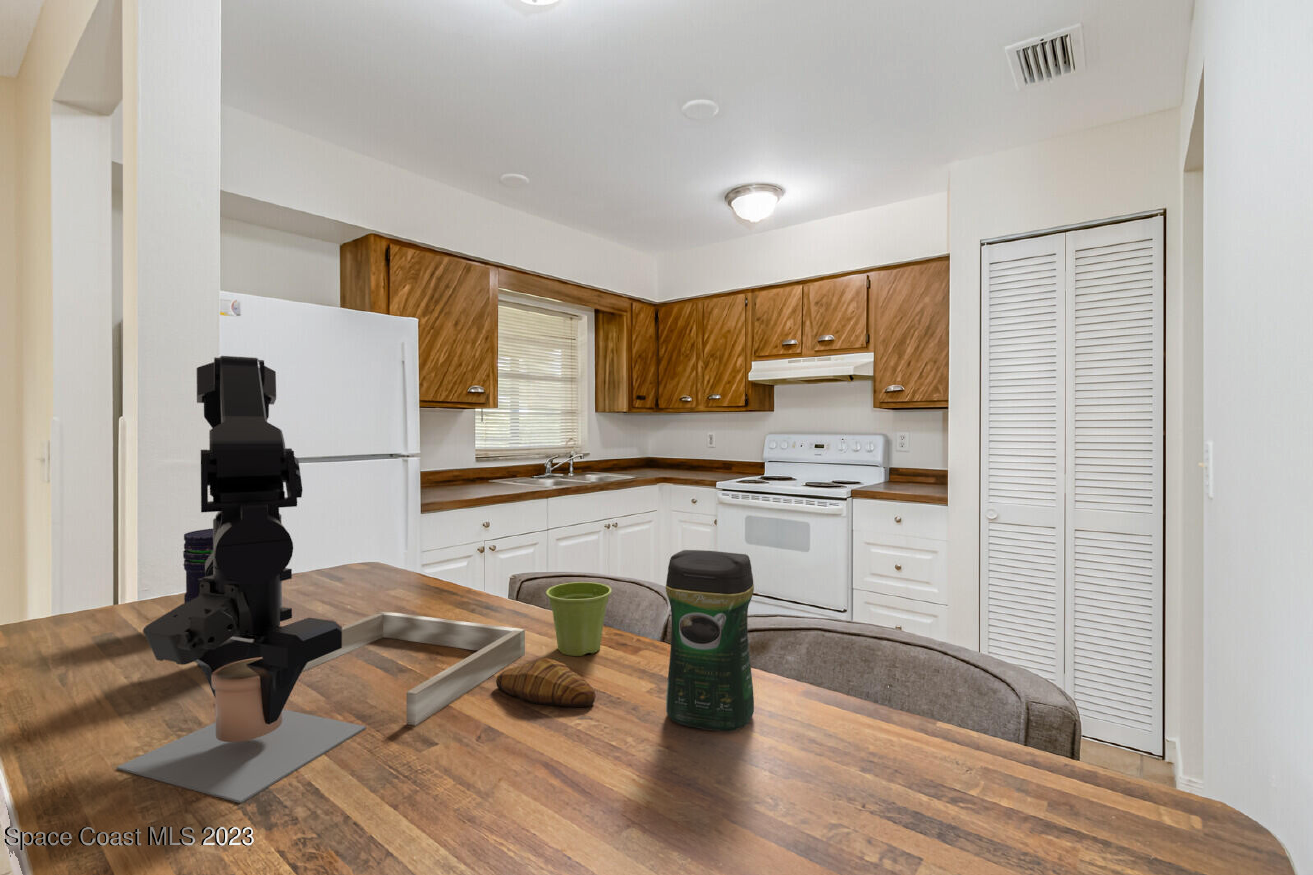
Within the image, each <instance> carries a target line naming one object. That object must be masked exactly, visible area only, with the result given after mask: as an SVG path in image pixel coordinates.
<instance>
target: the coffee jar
mask: <svg viewBox="0 0 1313 875" xmlns="http://www.w3.org/2000/svg"><path fill="white" fill-rule="evenodd" d="M668 562H669V563H668V567H667V568H668V569H667V575H666V581H665V592H666V596H667V599H668V602H669V606H670V616H671V618H670V619H671V635H670V637H671V638H670V651H669V664H668V673H667V674H668V675H667V683H666V698H665V700H666V701H665V711H666V714H667V717H668V718H669V719H671V721H673V722H674V723H677V724H680V725H684V726H687V727H692V728H698V729H703V730H711V731H717V732H727V733H729V732H734V731H737V730H739V729H742V728H744V727H745V726H747V725H748V724H749V723H750V721H751V720H752V717H753V714H754V711H755V698H754V685H753V684H754V683H753V676H752V675H753V674H752V667H751V666H752V665H751V658H750V647H749V645H750V644H749V635H748V634H749V632H748V631H749V630H748V616H749V615H748V614H749V611H748V610H749V606H750V603H751V600H752V598H753V596H754V591H755V584H754V577H753V572H752V568H753V567H752V564H751V563H752V562H751V559H750V557H749V555H748V554H745V553H737V552H726V551H725V552H724V551H715V550H702V549H700V550H699V549H683V550H680V551H678V552H676V553H674V554H673V555H671V556H670V558H669V561H668Z"/></svg>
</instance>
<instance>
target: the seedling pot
mask: <svg viewBox="0 0 1313 875" xmlns="http://www.w3.org/2000/svg"><path fill="white" fill-rule="evenodd" d="M260 659H262V657H260V658H252V659H246V660H241V661H237V662H234V663H230V664H228V665H225V666H223V667H220V668H219V669H217V670H215V671H214V672H213V673H212V675H211V686H212V688H213V689H214V690H215V697H214V699H215V705H214V706H215V708H214V709H215V710H214V711H215V713H214V714H215V722H216V738H217V739H218V740H220V741H224V742H240V741H246V740H251V739H255V738H258V737H261V736H264V735H266V734H268V733H271V732H272V731H274V730H276V729H277V728H278V727H279V726H280V725H281V724H282V712H281V714H280V716H279V718H278V720H277V721H275V722H273V723H271V724H266V723H265V720H264V715H263V707H262V696H261V684H260V676H259V675H258V674H257V673H256V672H254V671H253V670H251V669H250V668H249V667H247V664H249V663H252V662H254V661H257V660H260Z"/></svg>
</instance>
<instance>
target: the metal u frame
mask: <svg viewBox="0 0 1313 875" xmlns="http://www.w3.org/2000/svg"><path fill="white" fill-rule="evenodd" d="M341 627H342V648H341V649H338V650H336V651H334V652H331V653H329V654H326V655H324V656H322V657H319V658H317V659H315V660H312V661H310V662H308V663H307V664H306V666H305V668H304V669H303V671H302V673H303V672H306V671H308V670H311V669H312V668H315V667H318V666H320V665H322V664H324V663H327V662H329V661H331V660H334V659H335V658H338V657H342V656H343V655H345V654H347V653H350V652H352V651H354V650H356V649H357V650H358V649H359V648H361V647H364V646H366V645H369V644H370V643H373V642H376V641H378V640H379V639H382V638H387V639H392V640H393V639H394V640H402V641H408V642H415V643H423V644H429V645H436V646H443V647H444V646H445V647H450V648H456V649H457V648H458V649H463V650H464V649H465V650H472V651H476V652H474V653H472V654H470V655H469V656H467V657H466V658H464V659H461V660H460V661H458V662H457V663H455V664H453V665H452V666H449V667H448V668H446V669H444V670H443V671H441V672H438V673H437V674H436V675H434V676H432V677H430V678H429V679H427V680H425V681H424V682H422V683H420V684H418V685H416V686H415V687H413V688H411V689H409V690H408V691H406V725H409V726H414V727H415V726H418V725H419V724H420V723H422V722H424V721H425V720H427V719H428V718H430V717H431V716H433V715H434V714H436V713H438V712H439V711H441V709H443V708H445V707H447V706H449V705H450V704H451V703H453V702H454V701H455V700H457V699H458V698H460V697H462V696H463V695H465V694H466V693H468V692H469V691H471V690H472V689H474V688H475V687H477V686H478V685H480V684H482V683H483V682H484V681H486V680H488V679H489V678H491V677H492V676H493V675H495V674H497V673H498V672H499V671H501V670H502V669H504V668H506V667H507V666H509V665H510V664H512V663H514V662H515V661H516V660H517V659H519V658H521V657H522V656H525V654H526V629H524V628H519V627H518V628H516V627H508V626H502V625H494V624H485V623H478V622H468V621H463V620H462V621H461V620H454V619H453V620H452V619H446V618H445V619H444V618H440V617H432V616H431V617H429V616H425V615H424V616H423V615H414V614H406V613H400V612H391V611H379V612H377V613H374V614H372V615H369V616H367V617H363V618H361V619H358V620H356V621H353V622H351V623H348V624H345V625H343V626H341Z"/></svg>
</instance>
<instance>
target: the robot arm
mask: <svg viewBox="0 0 1313 875" xmlns="http://www.w3.org/2000/svg"><path fill="white" fill-rule="evenodd" d="M276 401H277V372H276V371H275V369H274V370H273V369H272V368H270V367H268V366H266V365H265V360H262V359H259V358H258V357H249V356H248V357H247V356H246V357H245V356H230V355H221V356H220V357H214V358H213V362H210V363H206V364H204V365H201V366H198V367H196V403H197V404H203V417H204V419H205V420H206V422H207V423H208V424H209V426H210V427H211V429H210V430H209V433H208V434H209V436H208V438H209V445H208V446H209V449H200V512H201V513H214V512H215V513H216V515H215V518H213V519H212V529H213V552H212V553H211V555H210V556H209V558H208V559H207V560H206V562H205V577H203V578H201V579H199V596H198V597H196V598H195V599H193V600H191V601H189V602H186V603H182V604H179V605H178V606H176V607H175V608H173V609H171V610H170V611H168V612H167V613H165V614H163V615H162V616H161V617H160V616H159V618H157V619H155V620H154V621H152V622H150V623H149V624H147V625H146V626H145V627H144V628H143V630H142V632H143V634H144V636H145V638H146V640H147V643H148V645H149V647H150V649H151V651H152V653H153V656H154V657H155V659H156V660H157V661H159V662H162V661H169V662H174V663H175V664H177V665H182V666H183V665H184V666H185V665H189V664H191V663H194V662H195V664H196V663H197V667H200V669H201V670H202V672H203V674H204V676H205V679H206V680H207V683H208V686H209V687H210V690H211V692H212V695H213V697H214V698H215V690H214V689H213V688H212V686H211V675H212V673H213V672H214V671H215V670H217V669H219V668H220V667H223V666H225V665H228V664H230V663H234V662H237V661H241V660H246V659H252V658H260V657H262V659H260V660H257V661H254V662H252V663H249V664H247V667H249V668H250V669H251V670H253V671H254V672H256V673H257V674H258V675H259V676H260V684H261V696H262V707H263V715H264V720H265V723H266V724H271V723H273V722H275V721H277V720H278V718H279V716H280V714H281V712H282V710H284V707H285V705H286V704H287V703H288V702H287V701H288V699H289V698H290V695H291V693H292V691H293V689H294V687H295V685H296V684H297V682H298V679H299V678H300V676H301V674H302V673H303V672H302V671H303V669H304V668H305V666H306V664H307V663H308V662H310V661H312V660H315V659H317V658H319V657H322V656H324V655H326V654H329V653H331V652H334V651H336V650H338V649H341V648H342V627H343V626H341V625H340V624H339V623H337V621H334V620H329V619H323V618H322V619H321V618H315V617H307V618H304V619H301V620H297V621H294V622H291V623H288V624H286V625H282V626H281V622H284V621H287V620H289V619H292V618H293V608H291V607H284V606H283V582H284V581H288V580H291V579H293V574H292V573H293V572H292V571H293V569H292V568H287V567H288V565H289V564H290V562H291V559H292V558H293V552H294V542H293V539H292V537H291V535H290V533H289V531H288V530H287V529H286V528H285V526H284V525H283V523H282V514H281V513H280V508H293V507H297V506H298V498H302V496H303V484H302V482H303V481H302V477H301V469H300V461H299V459H298V458H297V457H296V455H295V451H294V450H293V449H292V448H286V443H285V438H284V434H283V431H282V429H281V428H278V426H275V425H274V424H271V423H270V422H268V419H269V418H270V414H269V413H270V405H274V404H275V402H276ZM284 484H285V486H284ZM208 487H209V489H208ZM284 488H286V493H285V490H284ZM208 490H209V491H208ZM208 492H209V494H208ZM209 495H210V496H211V497H212V500H210V501H209ZM285 495H287V496H285Z"/></svg>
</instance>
